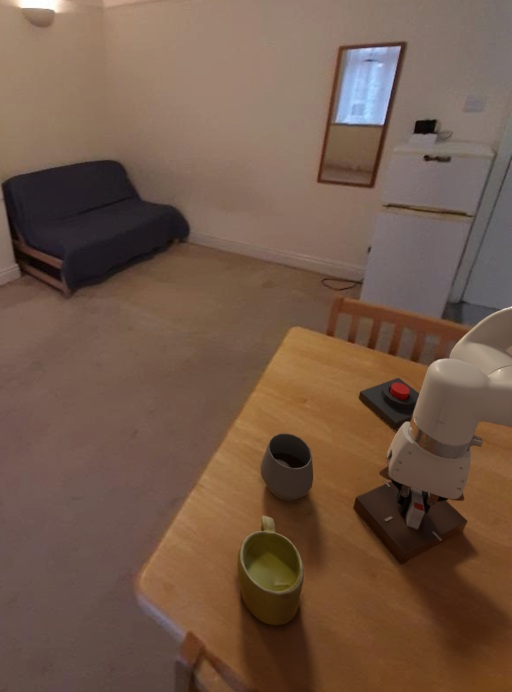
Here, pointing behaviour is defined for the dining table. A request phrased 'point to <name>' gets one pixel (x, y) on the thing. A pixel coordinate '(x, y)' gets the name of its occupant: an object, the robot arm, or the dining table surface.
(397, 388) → the timer button
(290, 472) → the cup
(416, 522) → the dial knob
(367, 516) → the switch base
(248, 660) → the dining table surface
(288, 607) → the mug
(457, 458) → the robot arm
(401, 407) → the black button base
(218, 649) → the dining table surface
